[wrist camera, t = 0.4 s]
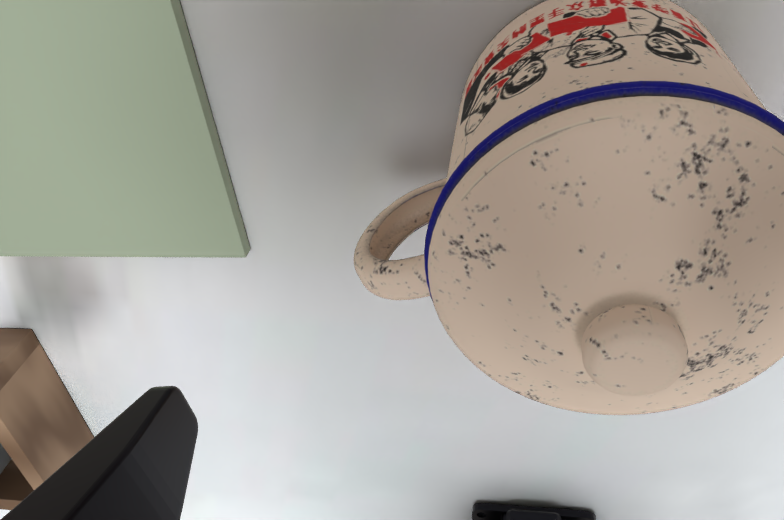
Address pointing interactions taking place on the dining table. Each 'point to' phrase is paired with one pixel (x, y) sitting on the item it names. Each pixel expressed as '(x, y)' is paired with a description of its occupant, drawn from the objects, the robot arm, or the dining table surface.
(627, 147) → the teacup with lid
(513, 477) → the dining table surface
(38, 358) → the walnut collar
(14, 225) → the rubber mat
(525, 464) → the dining table surface
